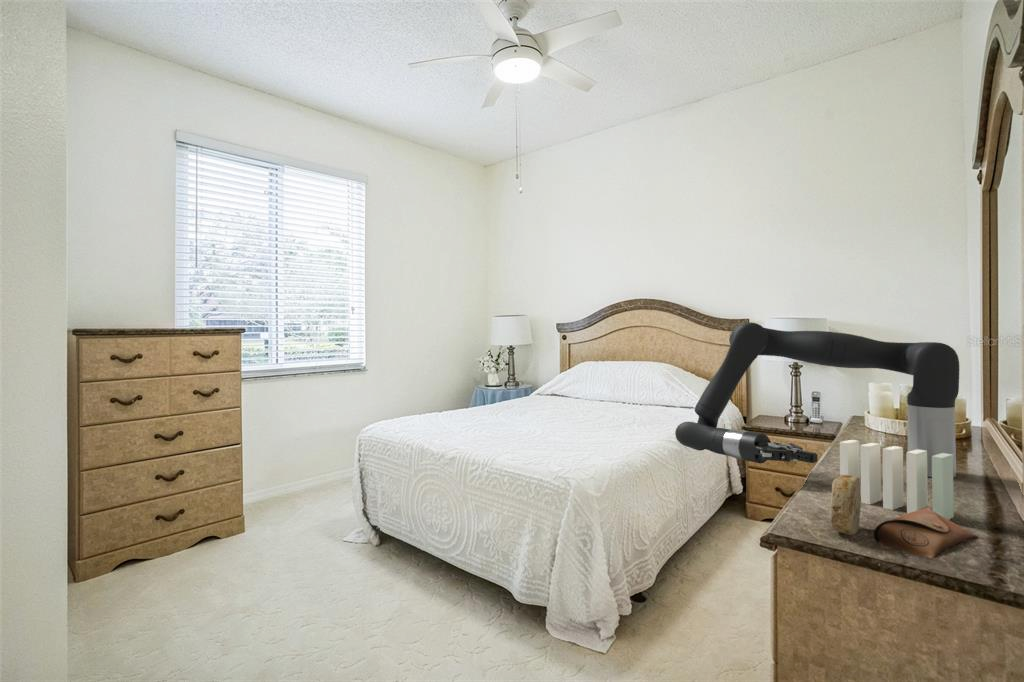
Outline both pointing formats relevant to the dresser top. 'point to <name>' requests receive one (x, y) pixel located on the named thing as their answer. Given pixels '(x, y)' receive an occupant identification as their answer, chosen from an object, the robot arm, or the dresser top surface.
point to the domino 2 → (870, 473)
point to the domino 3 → (893, 477)
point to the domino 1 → (849, 458)
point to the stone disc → (845, 504)
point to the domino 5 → (942, 485)
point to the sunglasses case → (921, 533)
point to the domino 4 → (916, 480)
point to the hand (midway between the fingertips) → (815, 458)
